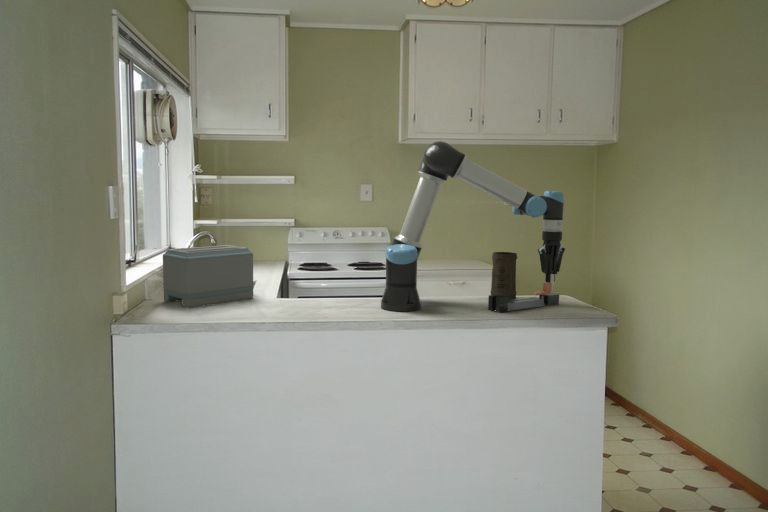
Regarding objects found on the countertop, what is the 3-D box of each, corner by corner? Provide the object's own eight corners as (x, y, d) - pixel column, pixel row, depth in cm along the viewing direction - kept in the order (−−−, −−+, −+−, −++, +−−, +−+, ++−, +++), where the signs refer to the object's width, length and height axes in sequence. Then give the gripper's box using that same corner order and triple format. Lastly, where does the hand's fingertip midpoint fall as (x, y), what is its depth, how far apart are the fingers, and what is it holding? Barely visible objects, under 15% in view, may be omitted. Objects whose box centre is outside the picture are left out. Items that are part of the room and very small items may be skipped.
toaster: (262, 297, 256) (261, 247, 253) (187, 308, 232) (186, 253, 229) (235, 291, 268) (235, 243, 266) (162, 301, 244) (160, 249, 242)
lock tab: (545, 292, 250) (545, 282, 250) (551, 293, 248) (551, 283, 247) (530, 294, 246) (530, 284, 245) (536, 295, 243) (537, 285, 243)
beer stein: (516, 303, 249) (518, 253, 248) (489, 302, 251) (491, 252, 250) (516, 299, 264) (518, 251, 263) (490, 298, 266) (492, 251, 265)
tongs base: (549, 302, 254) (549, 288, 253) (558, 304, 250) (559, 290, 249) (488, 309, 237) (488, 295, 236) (497, 312, 232) (497, 297, 232)
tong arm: (539, 305, 246) (539, 291, 245) (543, 306, 244) (544, 292, 244) (495, 311, 233) (495, 297, 233) (499, 312, 231) (500, 298, 231)
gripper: (547, 231, 240) (545, 293, 243) (571, 230, 247) (568, 290, 249) (533, 230, 246) (530, 290, 249) (556, 229, 253) (554, 287, 256)
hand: (549, 290), depth 249 cm, fingers closed
